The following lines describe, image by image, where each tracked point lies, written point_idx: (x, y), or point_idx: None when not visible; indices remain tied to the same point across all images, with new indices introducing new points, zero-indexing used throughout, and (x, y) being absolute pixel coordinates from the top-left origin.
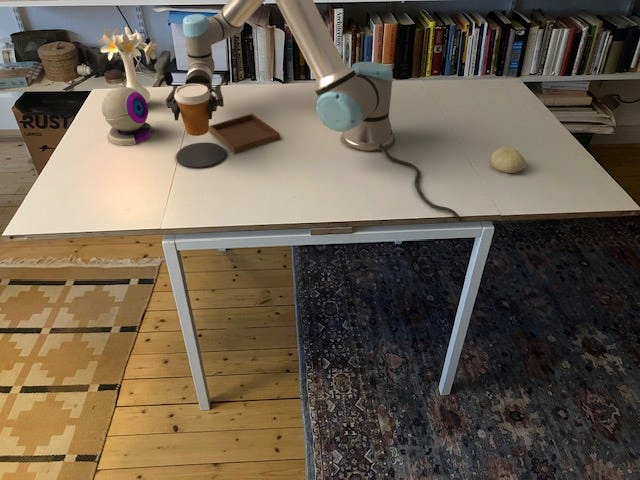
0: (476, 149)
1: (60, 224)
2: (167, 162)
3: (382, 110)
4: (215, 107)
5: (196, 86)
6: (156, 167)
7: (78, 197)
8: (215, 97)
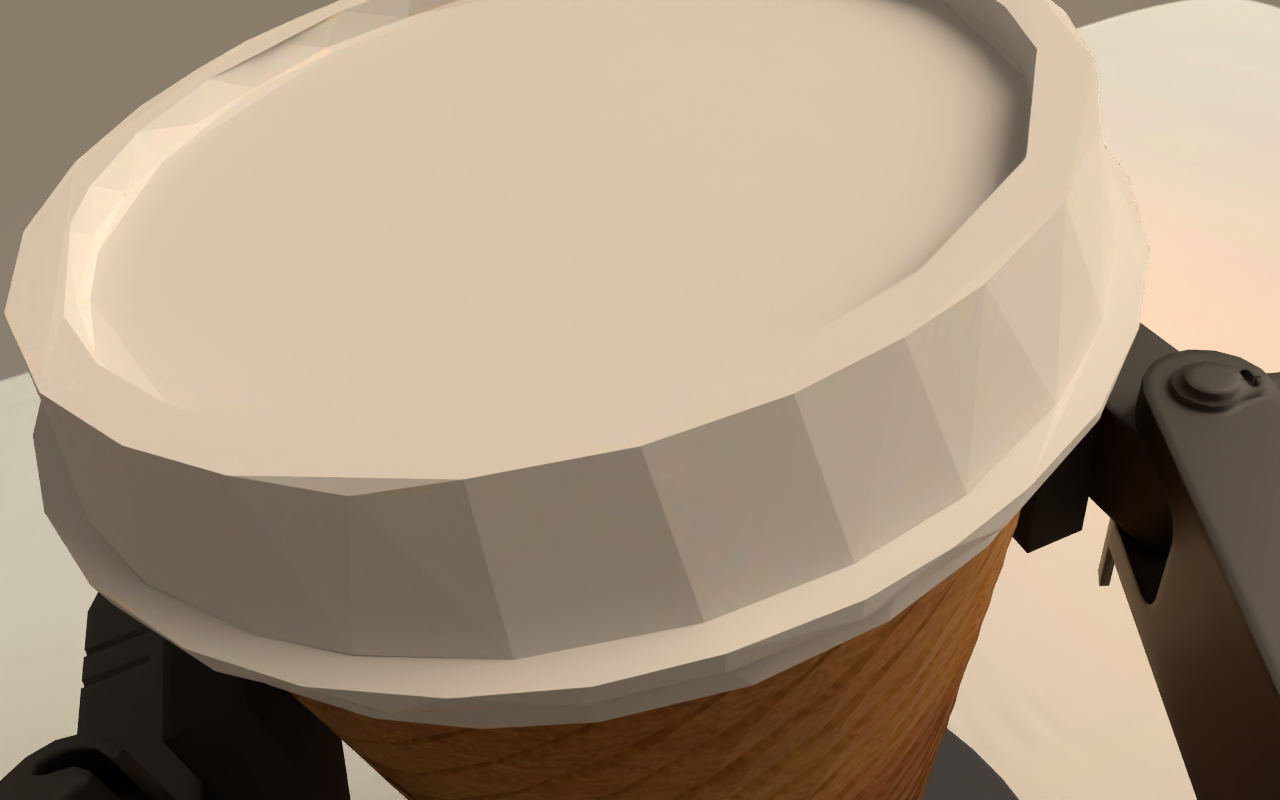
0: None
1: None
2: (1036, 687)
3: None
4: None
5: (536, 399)
6: (1064, 576)
7: (1231, 170)
8: (9, 787)
